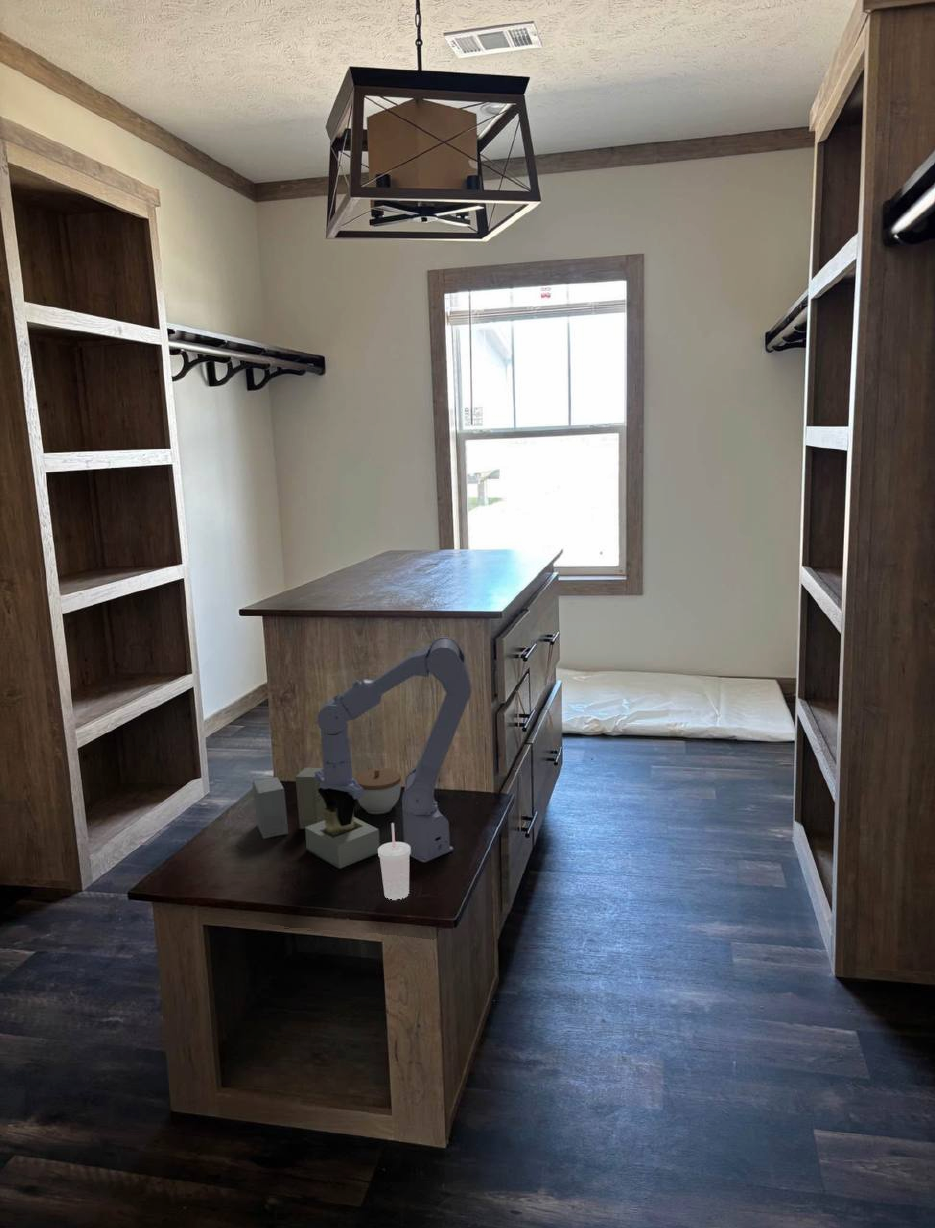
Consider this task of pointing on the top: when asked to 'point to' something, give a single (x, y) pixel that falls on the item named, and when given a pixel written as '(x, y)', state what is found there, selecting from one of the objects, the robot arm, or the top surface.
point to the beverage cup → (395, 868)
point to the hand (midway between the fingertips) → (341, 822)
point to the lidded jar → (379, 789)
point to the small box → (270, 807)
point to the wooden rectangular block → (335, 821)
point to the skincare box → (309, 798)
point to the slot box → (343, 843)
